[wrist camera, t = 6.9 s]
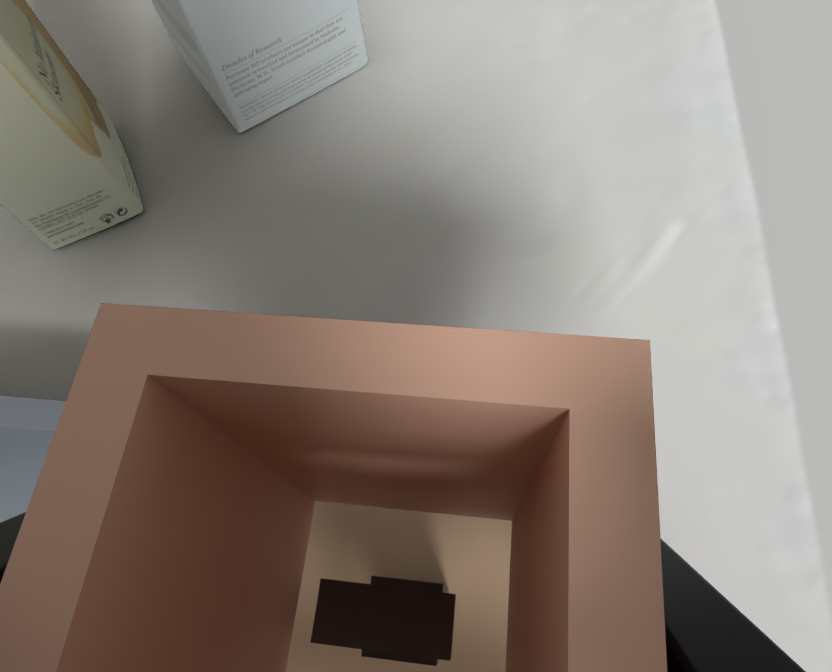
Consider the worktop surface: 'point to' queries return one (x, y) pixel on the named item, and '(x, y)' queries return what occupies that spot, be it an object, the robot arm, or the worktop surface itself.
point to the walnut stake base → (402, 592)
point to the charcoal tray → (23, 448)
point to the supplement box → (265, 50)
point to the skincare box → (56, 140)
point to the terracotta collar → (330, 486)
